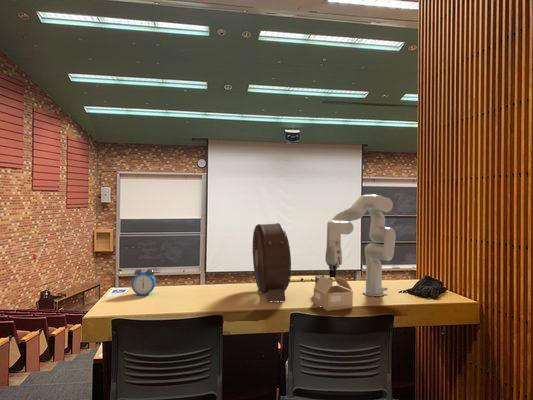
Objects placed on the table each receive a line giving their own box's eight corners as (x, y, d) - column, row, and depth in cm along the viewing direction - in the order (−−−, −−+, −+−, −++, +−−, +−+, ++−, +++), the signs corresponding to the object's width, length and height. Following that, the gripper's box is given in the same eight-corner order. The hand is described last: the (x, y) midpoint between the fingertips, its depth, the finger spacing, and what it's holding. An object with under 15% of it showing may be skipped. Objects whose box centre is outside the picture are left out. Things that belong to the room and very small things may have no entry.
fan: (292, 304, 194) (294, 225, 194) (261, 305, 191) (262, 225, 191) (276, 286, 235) (277, 221, 235) (250, 286, 231) (251, 221, 231)
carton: (337, 300, 202) (337, 285, 202) (353, 308, 189) (353, 291, 189) (313, 303, 196) (313, 287, 196) (327, 311, 182) (327, 294, 182)
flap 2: (338, 284, 201) (338, 284, 201) (351, 290, 190) (352, 289, 190) (332, 275, 200) (332, 275, 200) (345, 280, 188) (346, 279, 188)
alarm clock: (130, 296, 204) (131, 270, 204) (133, 293, 210) (133, 268, 210) (154, 295, 206) (154, 270, 206) (155, 292, 212) (156, 268, 212)
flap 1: (321, 276, 197) (320, 276, 197) (333, 281, 185) (333, 280, 185) (314, 287, 195) (314, 286, 195) (327, 292, 184) (326, 292, 183)
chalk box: (332, 298, 208) (333, 273, 208) (317, 298, 207) (317, 273, 208) (329, 294, 217) (329, 270, 217) (314, 293, 217) (315, 270, 217)
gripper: (347, 245, 187) (346, 279, 187) (331, 242, 201) (330, 274, 200) (335, 245, 184) (334, 280, 184) (320, 242, 198) (319, 274, 198)
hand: (332, 277), depth 192 cm, fingers closed
